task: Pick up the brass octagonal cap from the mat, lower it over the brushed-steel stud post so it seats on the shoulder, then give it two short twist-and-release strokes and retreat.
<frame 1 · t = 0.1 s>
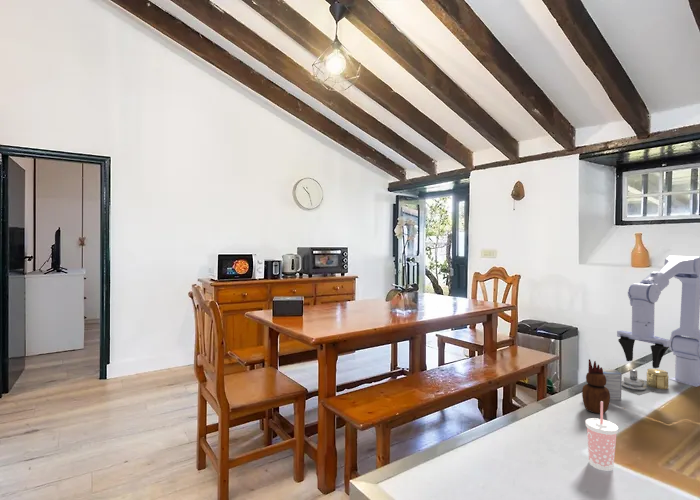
hand: (642, 364, 126), 10 cm above the counter, tool pointing down, fingers open, 7 cm apart
mat: (636, 387, 133), on the counter
wooden figurine: (595, 411, 115), on the counter
stud post: (633, 386, 132), resting on mat
beverage cup: (600, 465, 87), on the counter
medicine box: (604, 398, 124), on the counter
cap: (657, 385, 133), resting on mat
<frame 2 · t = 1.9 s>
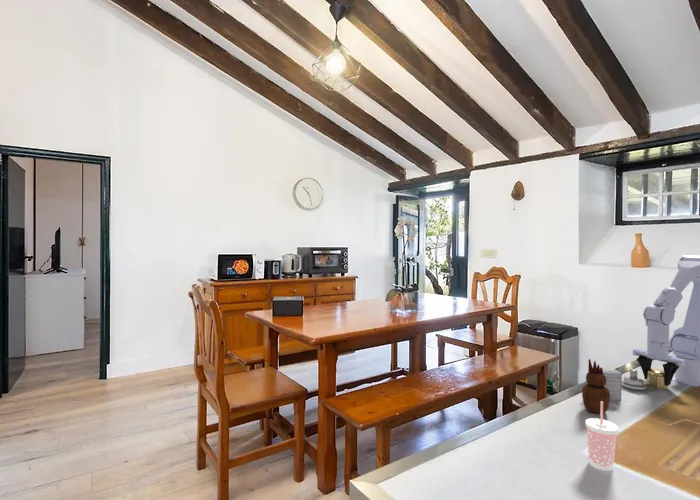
hand: (657, 381, 133), 2 cm above the counter, tool pointing down, fingers closed on cap, 5 cm apart
cap: (657, 385, 133), resting on mat, touching gripper
everything else where it was.
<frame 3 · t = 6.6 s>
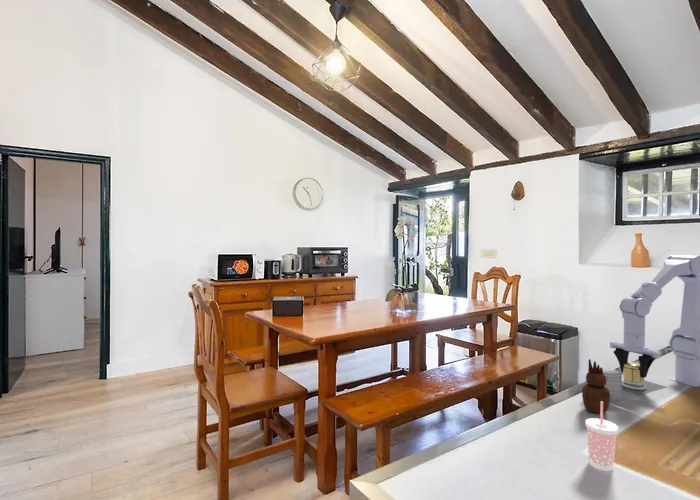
hand: (633, 374, 132), 5 cm above the counter, tool pointing down, fingers closed on cap, 5 cm apart
cap: (633, 379, 132), point 3 cm above the counter, touching gripper, stud post
everything else where it was.
when the fingers open (6 cm above the counter, at t = 11.0 s): cap drops 1 cm, resting on stud post.
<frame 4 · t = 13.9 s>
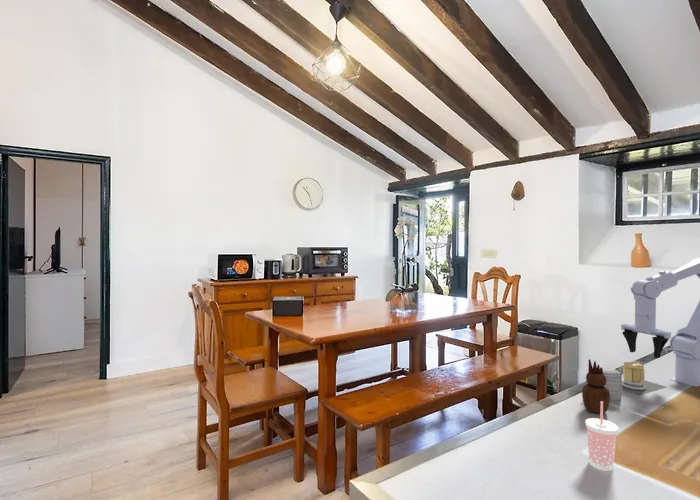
hand: (644, 354, 136), 10 cm above the counter, tool pointing down, fingers open, 7 cm apart
cap: (633, 379, 132), point 3 cm above the counter, touching stud post
everything else where it was.
at the end: cap 0.1 cm off-centre on the stud post, point 2.5 cm above the stud post's base; cap tilted 0°; the gripper is holding nothing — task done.
